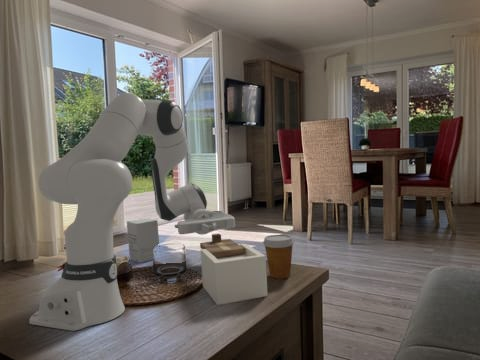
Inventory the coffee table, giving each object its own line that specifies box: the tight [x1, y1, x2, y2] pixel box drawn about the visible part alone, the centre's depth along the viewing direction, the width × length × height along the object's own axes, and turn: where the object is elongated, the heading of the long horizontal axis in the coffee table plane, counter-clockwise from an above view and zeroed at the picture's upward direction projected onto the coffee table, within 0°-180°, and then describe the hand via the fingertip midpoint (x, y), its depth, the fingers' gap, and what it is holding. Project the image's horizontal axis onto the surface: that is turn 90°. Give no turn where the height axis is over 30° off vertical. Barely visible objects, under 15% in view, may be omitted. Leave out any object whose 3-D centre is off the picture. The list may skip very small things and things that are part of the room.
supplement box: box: [126, 217, 160, 264], centre depth 148 cm, size 9×9×15 cm
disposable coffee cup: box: [262, 234, 295, 279], centre depth 120 cm, size 10×10×12 cm
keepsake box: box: [200, 243, 268, 306], centre depth 108 cm, size 16×14×11 cm
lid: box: [199, 233, 245, 258], centre depth 117 cm, size 14×10×4 cm
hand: (211, 228), depth 128 cm, fingers closed
